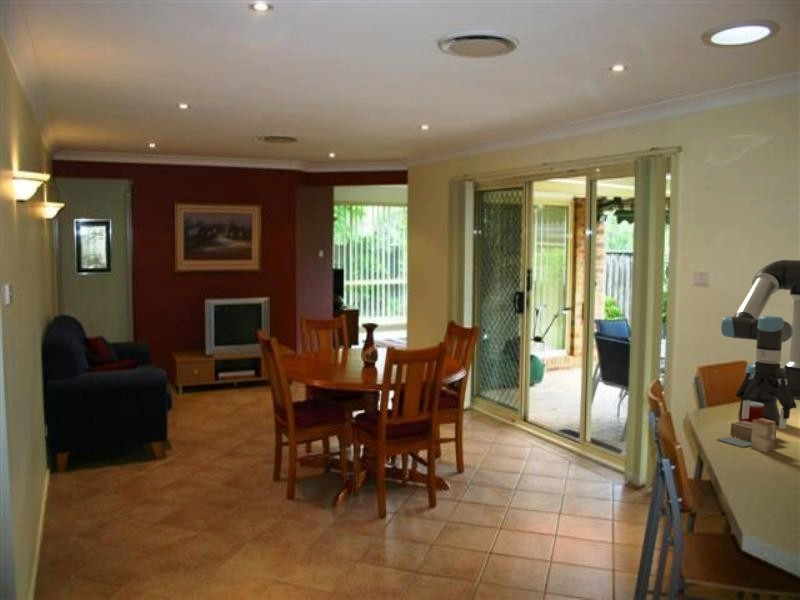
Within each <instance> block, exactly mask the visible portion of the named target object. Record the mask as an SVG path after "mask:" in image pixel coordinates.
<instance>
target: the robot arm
mask: <svg viewBox="0 0 800 600" xmlns="http://www.w3.org/2000/svg"><path fill="white" fill-rule="evenodd" d="M751 285H752V286H751V287H750V289H749V291H748V292H747V294H746V295H745V297H744V298H743V300H742V302H741V304H740V305H739V307H738V308H737V310H736V312H735V314H734V315H733V316H724V317H723V318H722V321H721V324H720V331H721V334H722V336H723V337H727V338H731V339H732V338H733V339H739V340H740V339H743V340H753V341H756V349H755V350H756V351H755V360H756V361H755V362H754V363H749V364H748V365H746V368H745V374H744V380H743V382H742V383H741V385H740V387H739V388H738V390H737V392H736V394H735V396H736V397H737V398H739V399H740V403H741V409H742V419H748V418H749V406H750V401H753V402H759V403H762V404H764V418H763V419H767V420H771V421H775V425H778V427H779V428H778V429H781V430H782V429H786V428H787V424H788V423H787V422H788V419H789V418H790V414H791V409H796V408H797V403H796V401H800V260H799V259H798V260H797V259H796V260H794V259H793V260H792V259H781V260H776V261H773V262H770V263H768V264H767V265H765V266H764V267H762V269H759V271H757V273H756V274H755V275H754V276H753V278H752V281H751ZM779 290H785V291H789V296H791V297H792V298H793V309H792V310H793V311H792V324H791V323H789V322H788V321H786V320H784V318H783V317H780V316H773V315H761V314H762V313H763V311H764V309H765V307H766V305H767V304H768V302H769V300H770V298H771V297H772V295H774V294H775V293H777V292H778V291H779ZM788 340H790V349H789V360H788V361H787V362H786V363H784V368H783V367H781V363H780V362H781V361H782V347H783V346H782V345H783V343H785V342H787V341H788ZM777 403H779V404H780V405H781V407H782V408H780V409H779V407H778V404H777ZM737 413H738V414H737V415H738V416H737V418H738V419H739V416H740V409H739V410H738V412H737Z"/></svg>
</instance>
